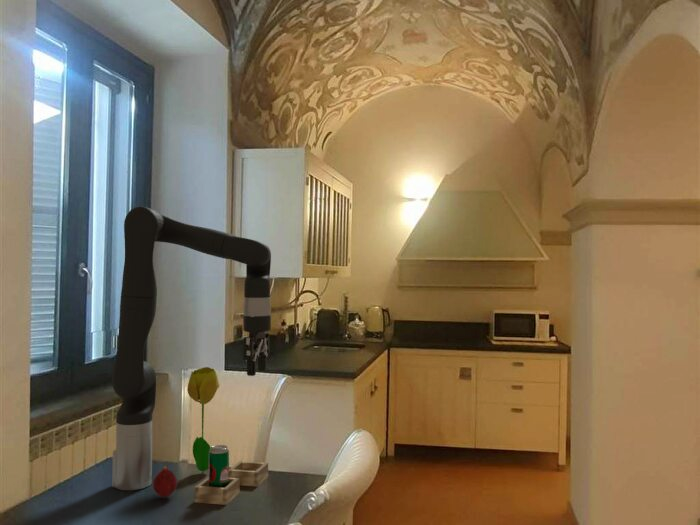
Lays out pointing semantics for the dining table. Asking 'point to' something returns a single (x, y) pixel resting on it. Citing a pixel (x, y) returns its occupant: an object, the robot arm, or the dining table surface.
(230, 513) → the dining table surface
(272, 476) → the dining table surface
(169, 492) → the onion
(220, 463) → the soda can
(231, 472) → the oak endcap
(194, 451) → the flower
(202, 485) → the oak endcap
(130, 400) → the robot arm
